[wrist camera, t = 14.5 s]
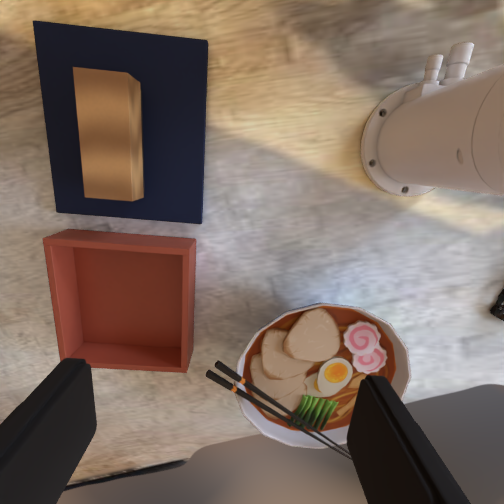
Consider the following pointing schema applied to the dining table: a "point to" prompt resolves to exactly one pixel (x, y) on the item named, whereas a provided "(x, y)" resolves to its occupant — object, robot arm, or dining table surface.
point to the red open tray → (123, 298)
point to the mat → (154, 116)
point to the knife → (495, 310)
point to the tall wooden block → (110, 134)
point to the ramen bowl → (314, 372)
